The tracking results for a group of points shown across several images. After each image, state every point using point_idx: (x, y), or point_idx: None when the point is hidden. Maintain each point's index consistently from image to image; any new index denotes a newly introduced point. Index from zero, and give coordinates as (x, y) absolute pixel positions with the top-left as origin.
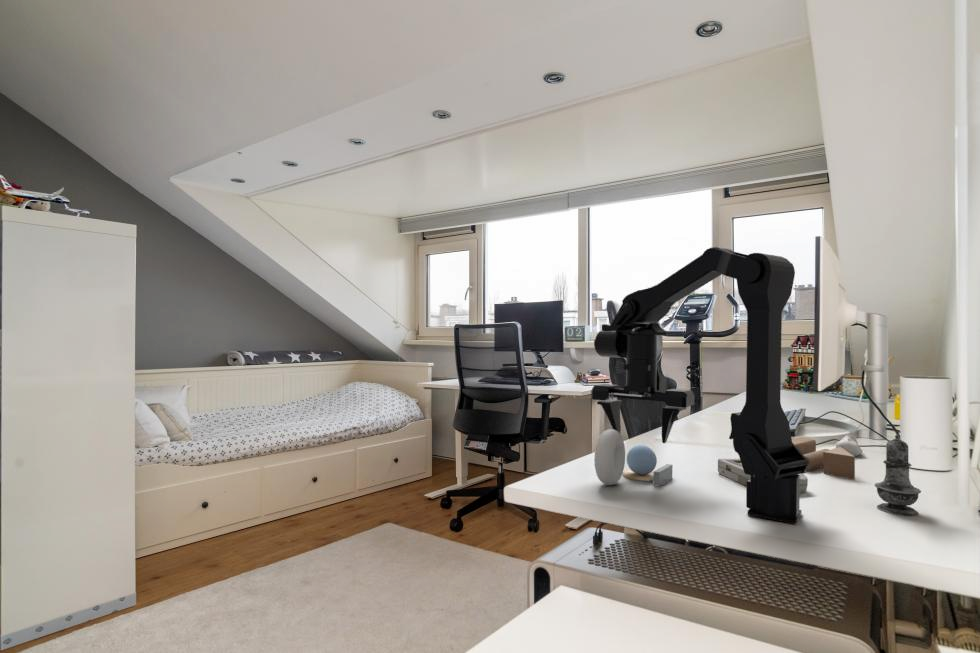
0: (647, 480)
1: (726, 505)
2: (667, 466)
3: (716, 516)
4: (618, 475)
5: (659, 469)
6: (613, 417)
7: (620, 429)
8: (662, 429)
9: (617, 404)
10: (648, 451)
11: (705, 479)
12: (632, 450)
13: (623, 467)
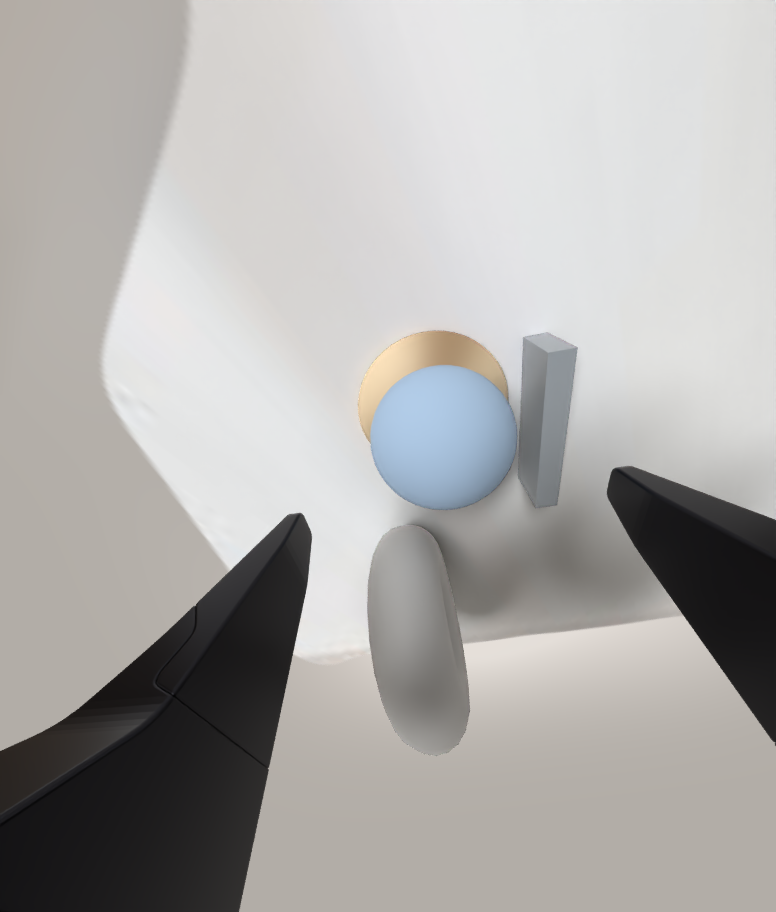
0: None
1: (754, 497)
2: (562, 400)
3: None
4: (446, 572)
5: (546, 471)
6: (281, 706)
7: (288, 543)
8: (680, 600)
9: (137, 836)
10: (499, 481)
11: (709, 210)
12: (421, 506)
13: (438, 551)
